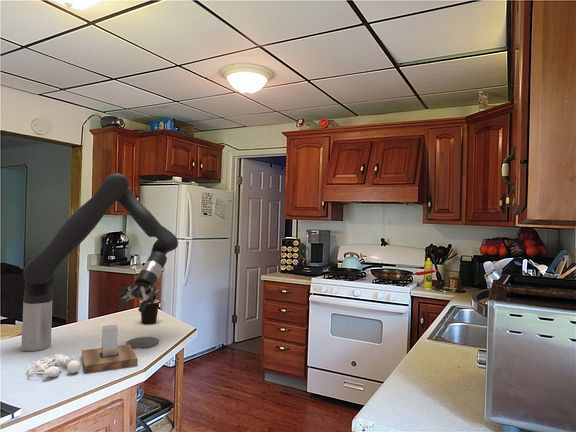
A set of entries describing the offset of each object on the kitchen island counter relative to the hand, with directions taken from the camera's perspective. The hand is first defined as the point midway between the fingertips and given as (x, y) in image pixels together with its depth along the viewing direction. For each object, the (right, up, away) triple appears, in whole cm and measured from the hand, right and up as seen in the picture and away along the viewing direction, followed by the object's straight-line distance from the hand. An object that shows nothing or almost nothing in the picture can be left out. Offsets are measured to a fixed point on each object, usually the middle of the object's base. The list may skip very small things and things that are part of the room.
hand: (130, 310), depth 149 cm
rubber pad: (+1, -15, +10) cm, 18 cm away
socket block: (-3, -15, -10) cm, 19 cm away
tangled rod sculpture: (-18, -15, -19) cm, 30 cm away
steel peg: (-3, -15, -10) cm, 19 cm away
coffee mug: (-7, -15, +41) cm, 44 cm away
